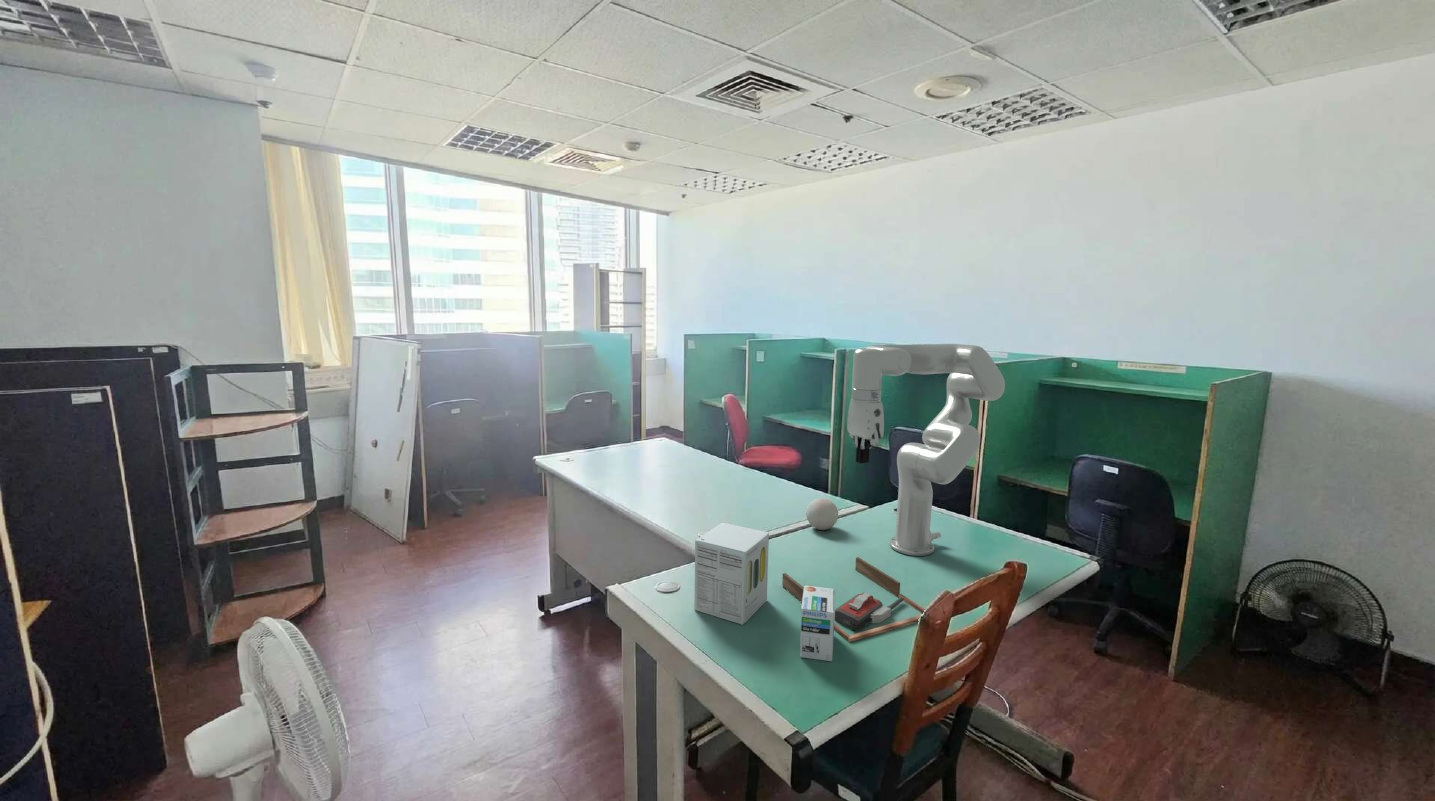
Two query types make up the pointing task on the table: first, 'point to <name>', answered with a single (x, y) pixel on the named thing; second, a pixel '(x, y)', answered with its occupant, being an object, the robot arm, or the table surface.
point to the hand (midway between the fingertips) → (862, 462)
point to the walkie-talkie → (863, 611)
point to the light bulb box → (817, 623)
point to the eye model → (822, 513)
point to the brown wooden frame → (876, 577)
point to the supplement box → (731, 572)
